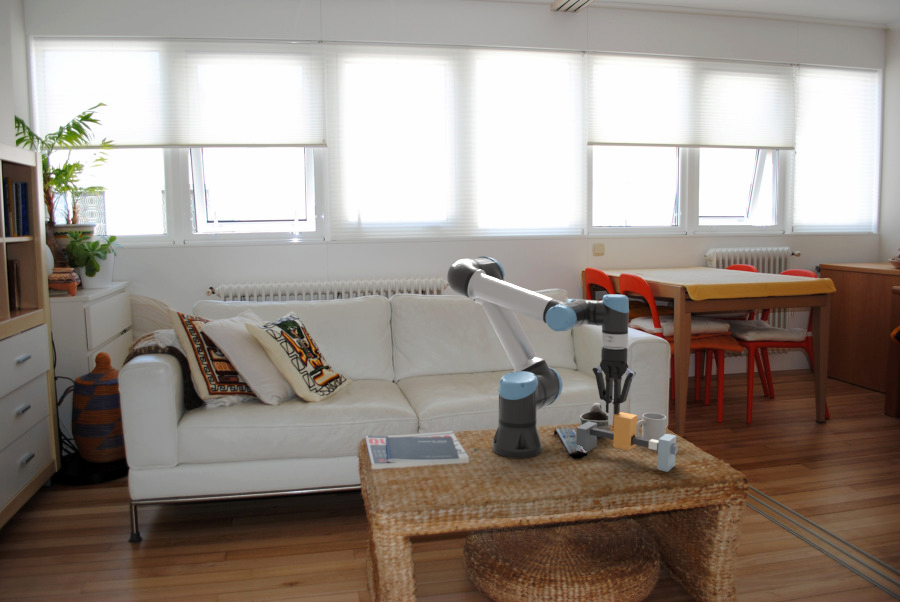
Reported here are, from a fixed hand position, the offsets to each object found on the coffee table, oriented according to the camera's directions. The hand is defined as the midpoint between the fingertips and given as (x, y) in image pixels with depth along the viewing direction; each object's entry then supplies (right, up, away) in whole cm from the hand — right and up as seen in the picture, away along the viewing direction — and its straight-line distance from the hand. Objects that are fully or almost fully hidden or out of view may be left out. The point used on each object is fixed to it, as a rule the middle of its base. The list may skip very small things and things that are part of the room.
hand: (612, 423), depth 199 cm
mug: (-2, -8, +19) cm, 20 cm away
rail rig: (+3, -10, -1) cm, 10 cm away
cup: (+14, -9, +12) cm, 20 cm away
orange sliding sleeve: (+3, -6, -2) cm, 7 cm away
